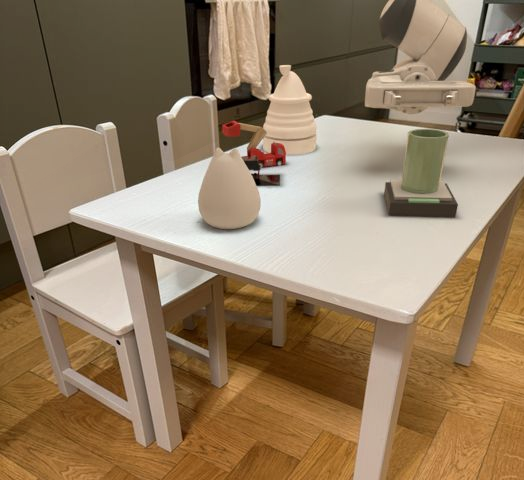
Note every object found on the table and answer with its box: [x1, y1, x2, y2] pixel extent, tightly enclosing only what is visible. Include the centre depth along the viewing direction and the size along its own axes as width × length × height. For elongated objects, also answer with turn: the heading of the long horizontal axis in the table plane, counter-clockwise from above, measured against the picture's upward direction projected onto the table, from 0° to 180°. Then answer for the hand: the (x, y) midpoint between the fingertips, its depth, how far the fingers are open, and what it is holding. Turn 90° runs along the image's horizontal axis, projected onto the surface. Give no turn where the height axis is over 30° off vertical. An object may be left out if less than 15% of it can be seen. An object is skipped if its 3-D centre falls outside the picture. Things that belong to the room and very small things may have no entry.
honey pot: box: [262, 64, 317, 156], centre depth 117 cm, size 13×13×18 cm
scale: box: [383, 178, 459, 219], centre depth 88 cm, size 11×11×3 cm
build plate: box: [242, 157, 281, 187], centre depth 101 cm, size 12×7×5 cm, turn 89°
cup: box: [400, 128, 450, 194], centre depth 85 cm, size 6×6×9 cm
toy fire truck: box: [221, 120, 287, 169], centre depth 107 cm, size 3×14×10 cm, turn 111°
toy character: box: [197, 147, 262, 230], centre depth 81 cm, size 10×10×12 cm
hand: (423, 101), depth 90 cm, fingers open, 8 cm apart
